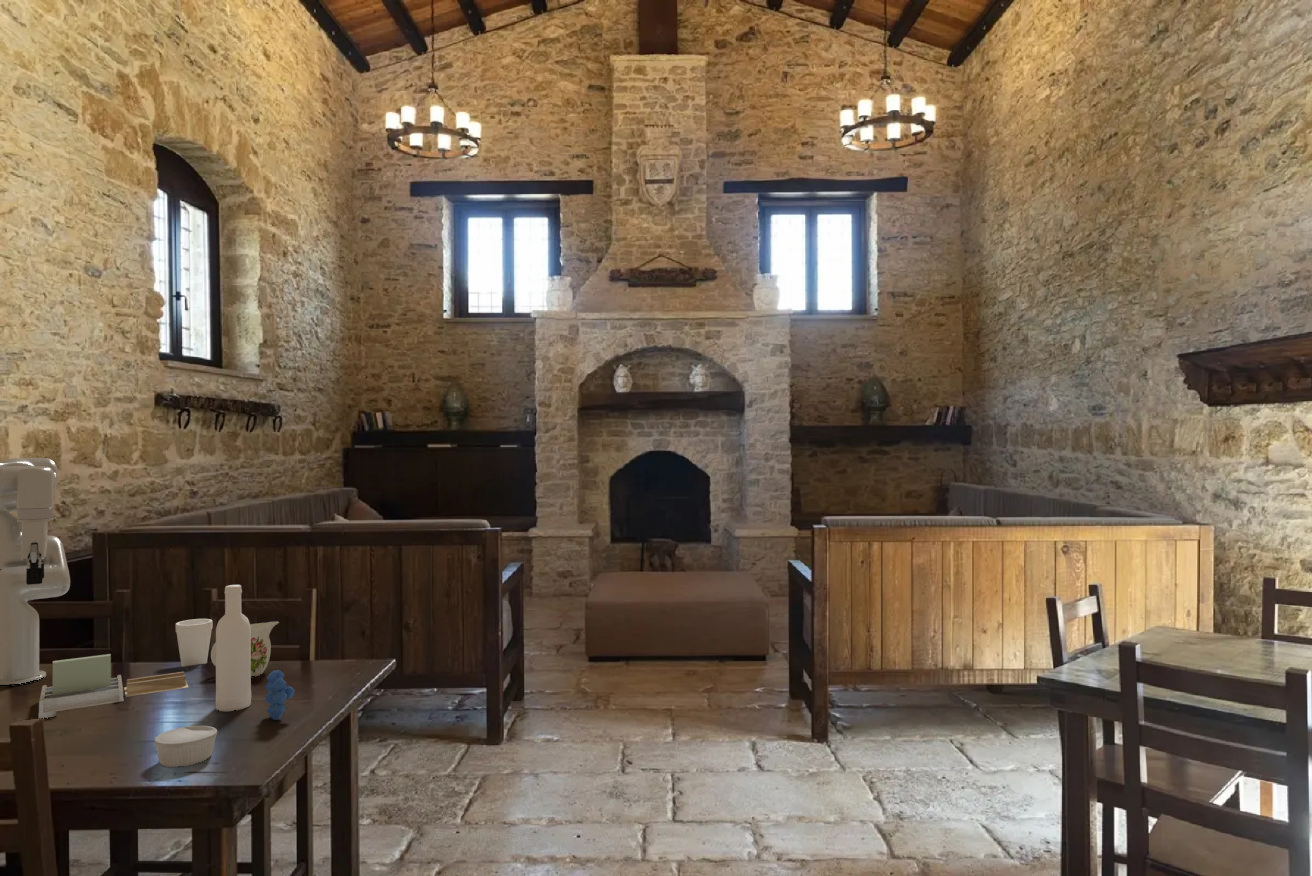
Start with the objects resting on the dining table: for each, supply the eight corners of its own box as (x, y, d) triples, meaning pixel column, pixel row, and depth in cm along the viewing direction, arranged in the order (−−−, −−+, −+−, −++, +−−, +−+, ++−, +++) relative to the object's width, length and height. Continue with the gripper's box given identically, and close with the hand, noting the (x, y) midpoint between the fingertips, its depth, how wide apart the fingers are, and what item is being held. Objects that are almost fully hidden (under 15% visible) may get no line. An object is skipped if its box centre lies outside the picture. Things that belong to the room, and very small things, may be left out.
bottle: (236, 712, 200) (235, 588, 201) (207, 710, 202) (207, 588, 202) (258, 702, 208) (258, 583, 209) (231, 700, 210) (230, 582, 210)
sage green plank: (52, 701, 206) (52, 661, 206) (110, 692, 213) (110, 653, 213) (52, 703, 204) (52, 662, 204) (110, 694, 211) (110, 655, 211)
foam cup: (184, 672, 238) (184, 626, 238) (170, 667, 243) (170, 622, 243) (218, 665, 245) (218, 621, 245) (203, 660, 251) (203, 617, 251)
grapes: (301, 722, 193) (301, 671, 193) (269, 728, 189) (269, 676, 189) (290, 710, 202) (290, 660, 202) (260, 715, 198) (259, 665, 198)
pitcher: (205, 677, 231) (204, 628, 232) (271, 665, 244) (271, 618, 244) (217, 685, 224) (217, 634, 224) (285, 672, 236) (285, 624, 236)
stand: (124, 692, 217) (124, 677, 217) (185, 684, 225) (185, 669, 225) (125, 702, 209) (125, 686, 209) (188, 692, 217) (188, 677, 217)
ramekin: (227, 749, 176) (227, 724, 176) (199, 769, 165) (199, 743, 165) (173, 750, 176) (173, 725, 176) (142, 770, 165) (142, 744, 165)
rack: (42, 701, 211) (42, 685, 211) (121, 689, 220) (121, 674, 221) (38, 720, 196) (38, 703, 196) (123, 706, 206) (123, 690, 206)
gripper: (19, 513, 218) (19, 578, 218) (14, 518, 204) (14, 587, 204) (54, 512, 222) (54, 576, 222) (52, 516, 208) (52, 584, 208)
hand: (35, 581), depth 213 cm, fingers open, 9 cm apart
